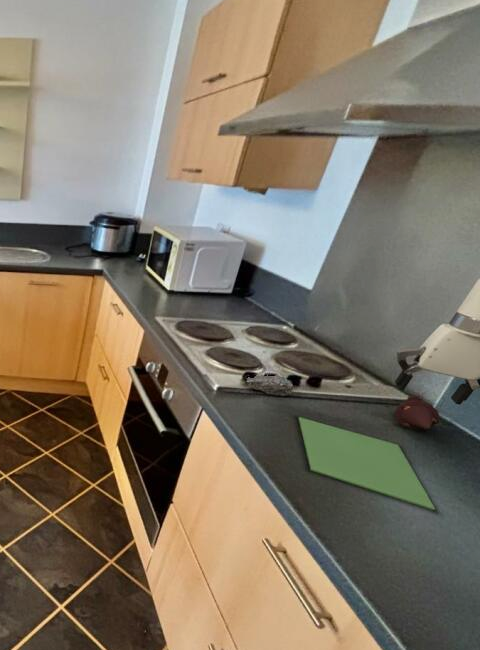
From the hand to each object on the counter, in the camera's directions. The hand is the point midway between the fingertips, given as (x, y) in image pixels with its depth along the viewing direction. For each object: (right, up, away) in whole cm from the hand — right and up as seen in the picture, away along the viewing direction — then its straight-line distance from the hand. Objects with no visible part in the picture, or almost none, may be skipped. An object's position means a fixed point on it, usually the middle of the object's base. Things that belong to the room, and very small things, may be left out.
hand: (426, 394), depth 94 cm
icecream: (-1, -8, +3) cm, 9 cm away
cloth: (-25, -13, -9) cm, 29 cm away
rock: (-26, 0, +15) cm, 30 cm away
